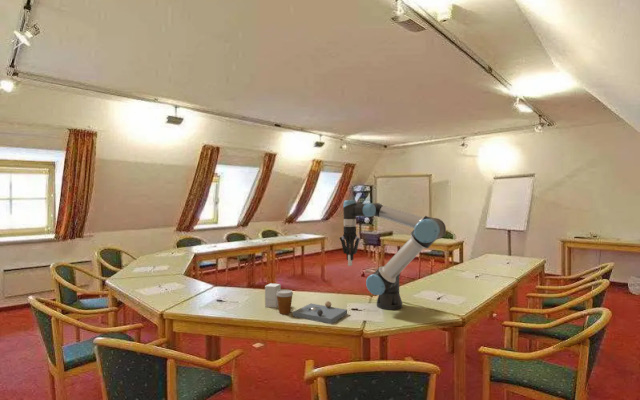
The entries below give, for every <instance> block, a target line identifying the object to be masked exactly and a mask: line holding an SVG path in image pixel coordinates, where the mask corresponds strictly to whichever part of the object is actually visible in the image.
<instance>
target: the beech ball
mask: <svg viewBox="0 0 640 400" xmlns="http://www.w3.org/2000/svg"><path fill="white" fill-rule="evenodd" d="M324 306H326V307H327V308H330V307H332V303H331V302H330V301H329V300H328V301H326V302H325V305H324Z"/></svg>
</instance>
